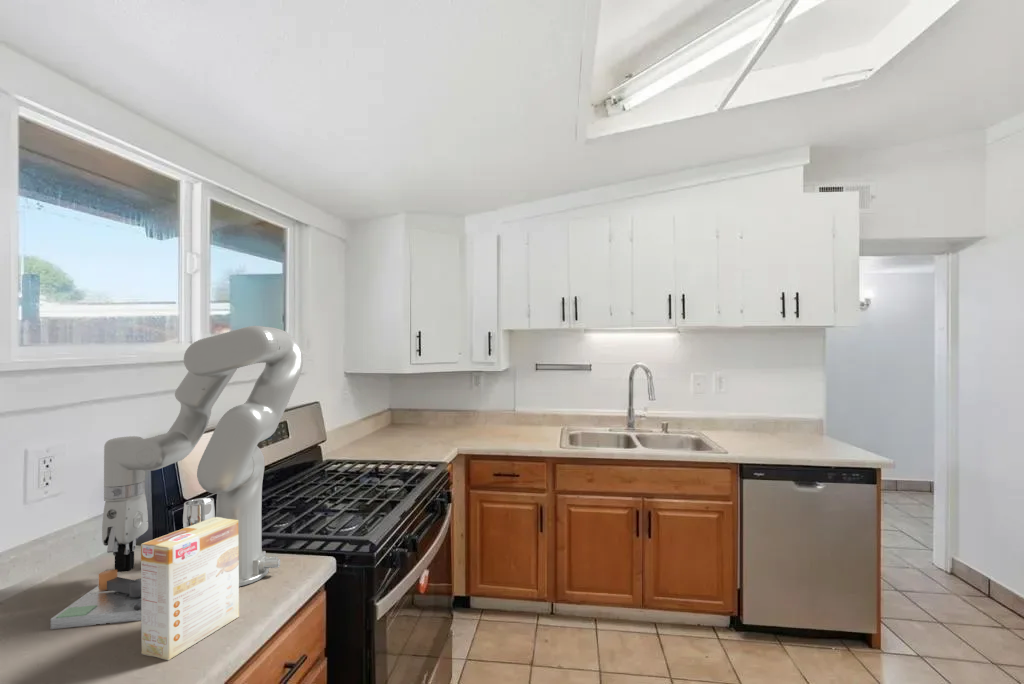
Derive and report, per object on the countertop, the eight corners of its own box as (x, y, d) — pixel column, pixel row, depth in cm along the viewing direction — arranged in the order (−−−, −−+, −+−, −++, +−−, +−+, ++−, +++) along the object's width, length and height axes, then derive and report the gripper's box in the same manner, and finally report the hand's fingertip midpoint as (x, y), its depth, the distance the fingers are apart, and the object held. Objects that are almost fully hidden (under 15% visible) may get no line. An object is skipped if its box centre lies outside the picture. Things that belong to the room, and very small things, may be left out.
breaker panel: (177, 587, 112) (177, 577, 112) (142, 620, 98) (142, 608, 98) (97, 594, 109) (97, 584, 109) (50, 629, 96) (50, 617, 96)
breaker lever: (154, 590, 106) (154, 576, 106) (137, 598, 102) (137, 583, 102) (112, 581, 110) (112, 568, 110) (93, 589, 107) (93, 575, 107)
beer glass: (220, 556, 129) (220, 499, 130) (194, 567, 123) (194, 506, 123) (203, 552, 132) (203, 496, 133) (176, 562, 126) (176, 503, 126)
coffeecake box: (213, 611, 101) (213, 516, 102) (240, 617, 99) (240, 519, 100) (138, 654, 87) (138, 542, 87) (168, 661, 85) (168, 547, 85)
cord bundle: (192, 583, 114) (192, 569, 114) (153, 622, 97) (153, 606, 97) (172, 585, 113) (172, 571, 113) (129, 625, 97) (129, 608, 97)
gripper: (123, 498, 108) (123, 583, 108) (159, 481, 123) (159, 556, 123) (84, 501, 107) (84, 586, 107) (125, 483, 122) (125, 558, 121)
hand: (124, 570), depth 115 cm, fingers closed
